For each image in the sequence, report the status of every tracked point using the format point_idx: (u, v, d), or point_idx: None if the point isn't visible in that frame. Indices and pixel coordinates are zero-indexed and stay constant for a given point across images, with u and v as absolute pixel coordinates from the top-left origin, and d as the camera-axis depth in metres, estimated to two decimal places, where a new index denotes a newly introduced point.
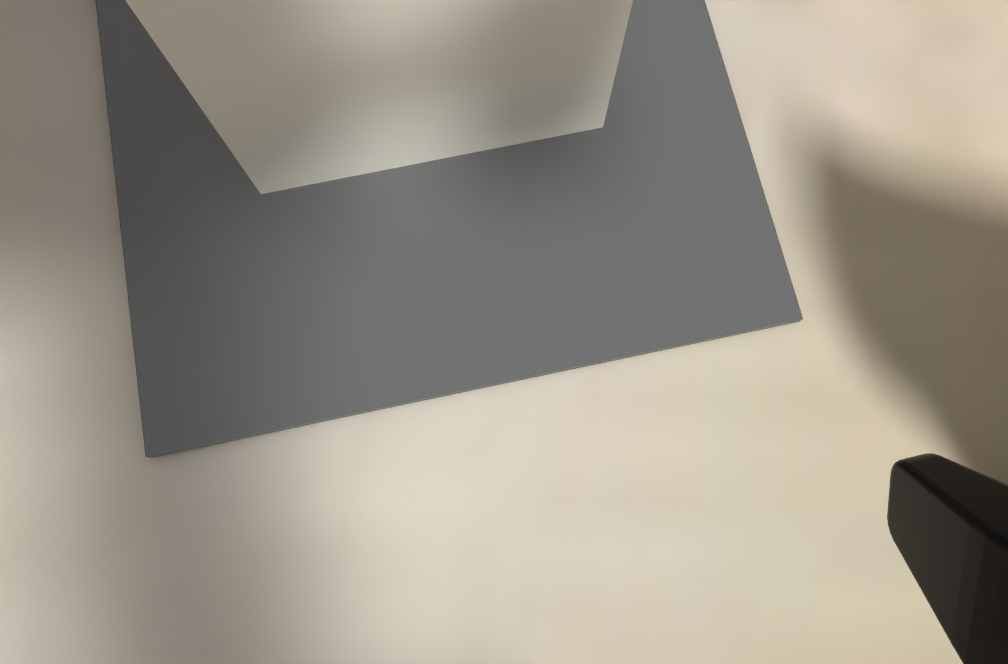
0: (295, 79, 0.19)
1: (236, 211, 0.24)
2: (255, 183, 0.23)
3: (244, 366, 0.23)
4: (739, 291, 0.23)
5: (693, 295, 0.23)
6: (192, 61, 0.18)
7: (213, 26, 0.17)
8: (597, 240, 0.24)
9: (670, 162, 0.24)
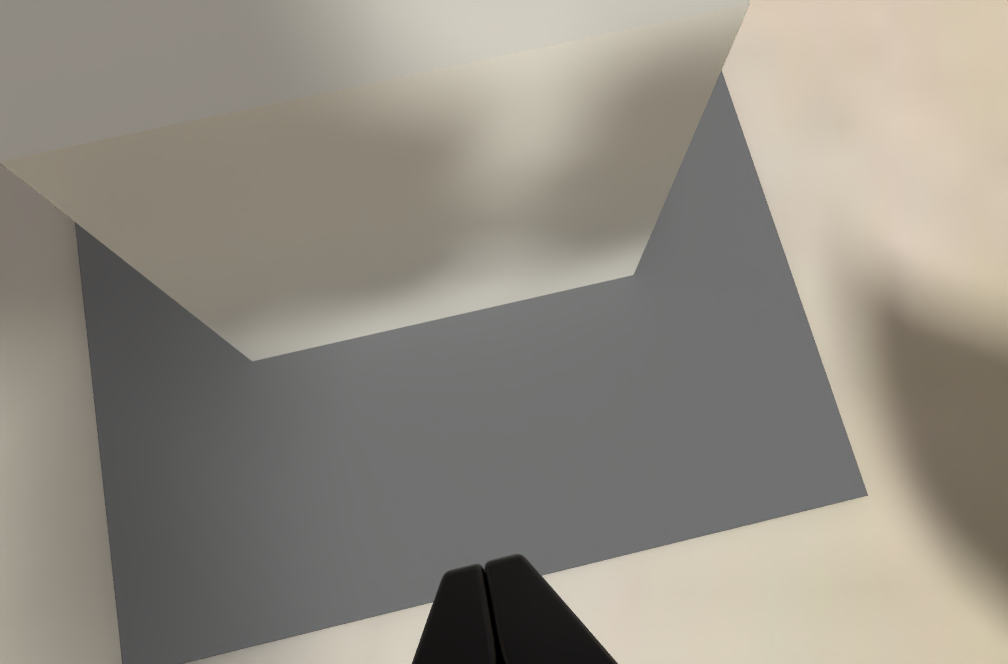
0: (288, 271, 0.16)
1: (224, 382, 0.21)
2: (245, 354, 0.21)
3: (235, 566, 0.20)
4: (794, 464, 0.21)
5: (742, 470, 0.21)
6: (166, 268, 0.15)
7: (189, 238, 0.14)
8: (632, 408, 0.21)
9: (710, 314, 0.22)
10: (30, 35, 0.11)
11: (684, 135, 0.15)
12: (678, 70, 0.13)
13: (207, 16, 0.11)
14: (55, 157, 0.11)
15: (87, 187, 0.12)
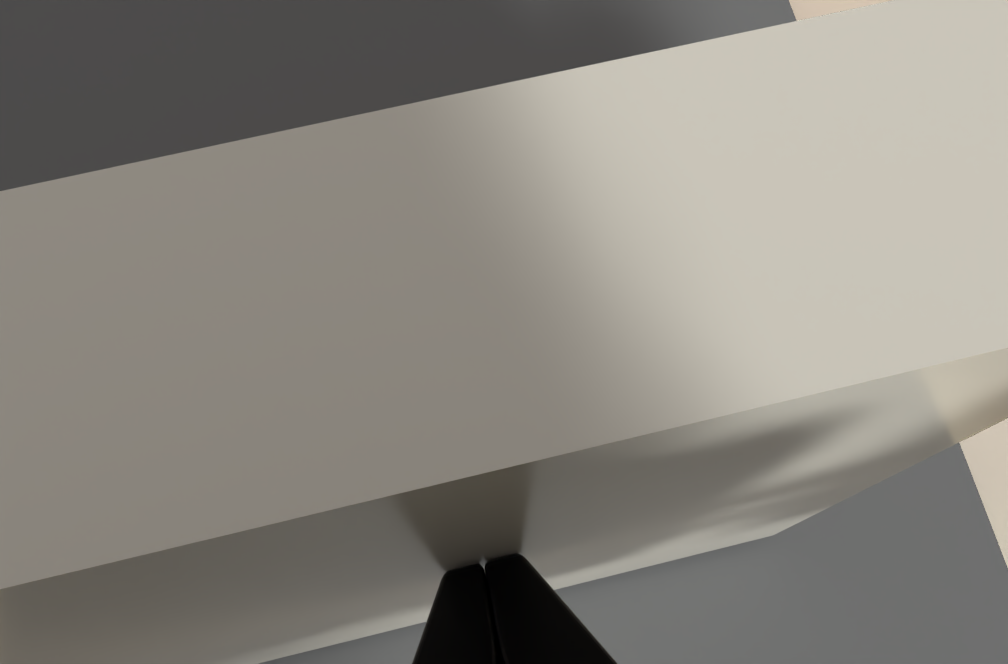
0: (260, 632, 0.10)
1: None
2: None
3: None
4: None
5: None
6: None
7: (62, 654, 0.08)
8: None
9: (882, 597, 0.15)
10: None
11: (961, 436, 0.08)
12: None
13: (46, 322, 0.05)
14: None
15: None
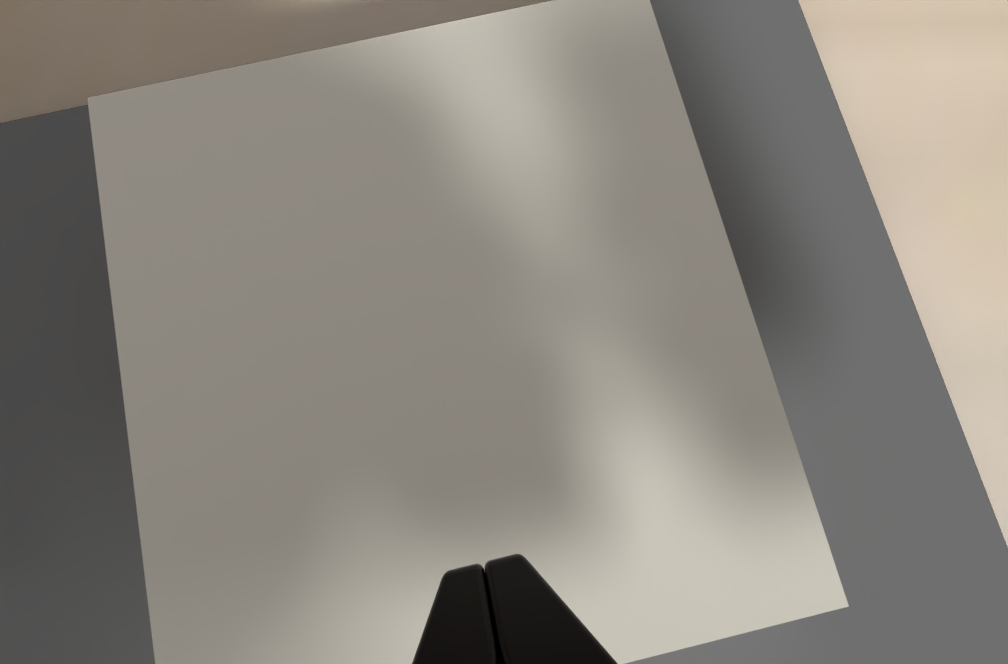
0: (269, 379, 0.13)
1: None
2: None
3: None
4: None
5: None
6: (143, 325, 0.14)
7: (181, 258, 0.14)
8: None
9: None
10: None
11: (690, 156, 0.14)
12: (623, 52, 0.15)
13: None
14: (124, 101, 0.15)
15: (129, 144, 0.14)
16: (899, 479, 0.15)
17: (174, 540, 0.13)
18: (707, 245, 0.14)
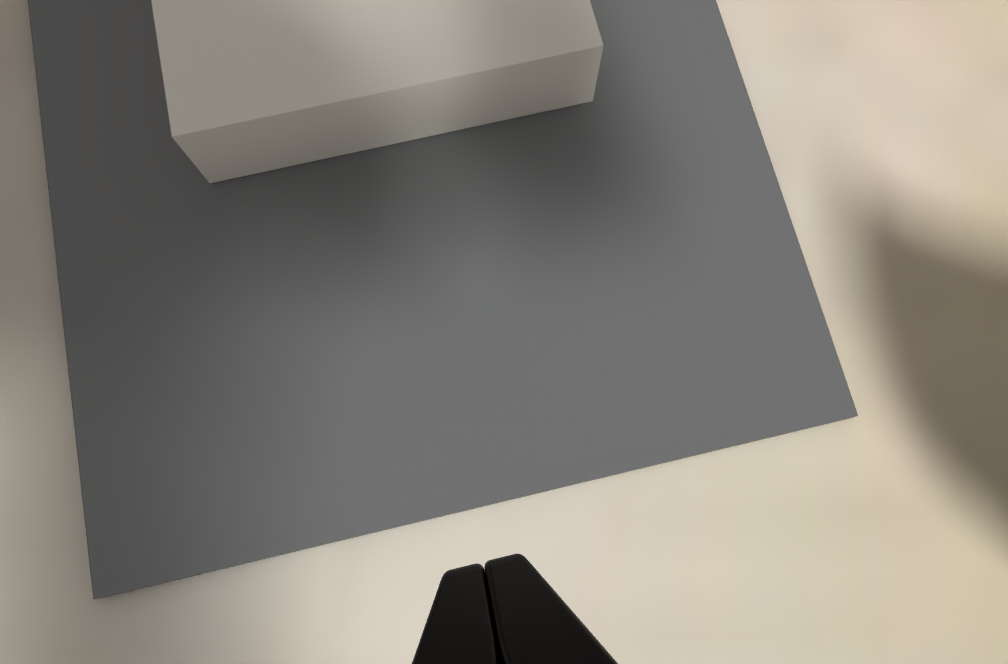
0: None
1: (197, 301, 0.21)
2: (169, 108, 0.19)
3: (208, 487, 0.19)
4: (783, 384, 0.20)
5: (730, 390, 0.20)
6: None
7: None
8: (617, 328, 0.20)
9: (698, 233, 0.21)
10: None
11: None
12: None
13: None
14: None
15: None
16: (670, 31, 0.22)
17: (174, 10, 0.20)
18: None
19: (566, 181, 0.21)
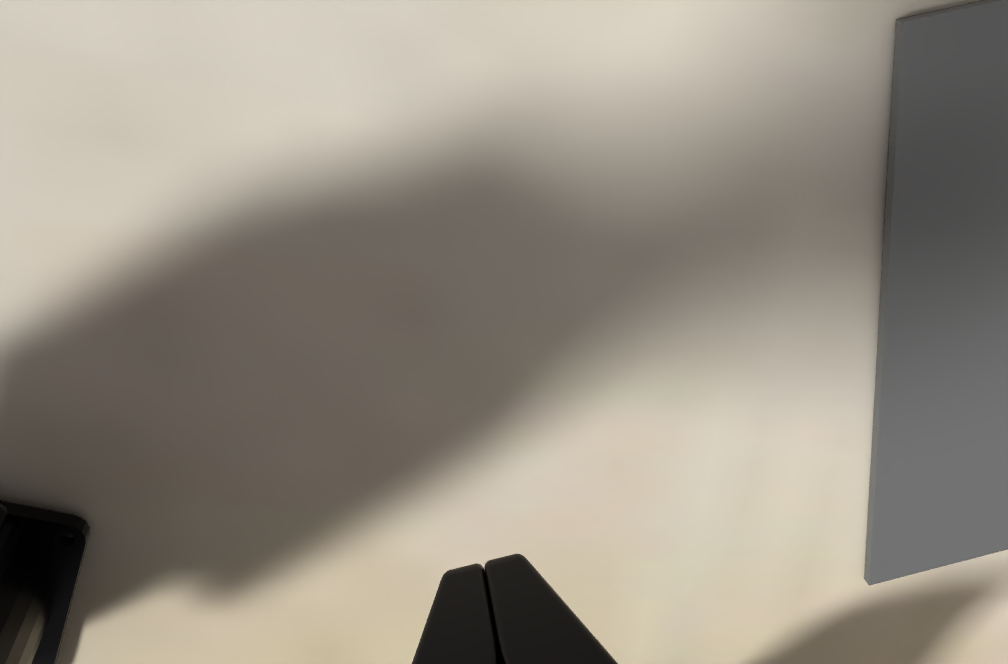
0: None
1: None
2: None
3: (969, 127, 0.20)
4: (903, 544, 0.27)
5: (910, 514, 0.27)
6: None
7: None
8: (981, 443, 0.26)
9: None
10: None
11: None
12: None
13: None
14: None
15: None
16: None
17: None
18: None
19: None
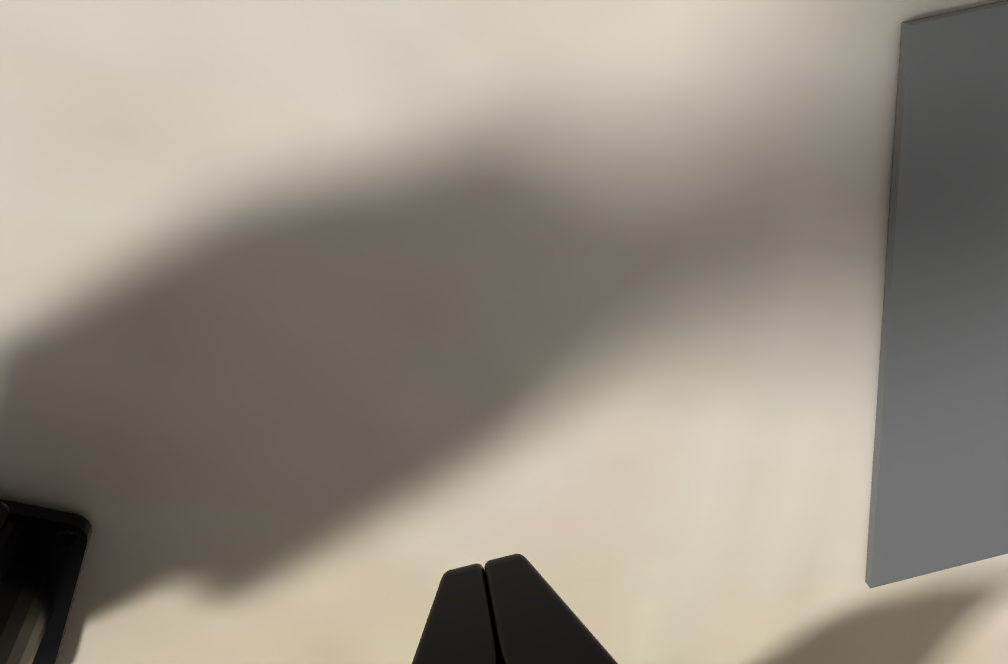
0: None
1: None
2: None
3: (974, 131, 0.20)
4: (905, 547, 0.27)
5: (912, 517, 0.27)
6: None
7: None
8: (983, 446, 0.26)
9: None
10: None
11: None
12: None
13: None
14: None
15: None
16: None
17: None
18: None
19: None
